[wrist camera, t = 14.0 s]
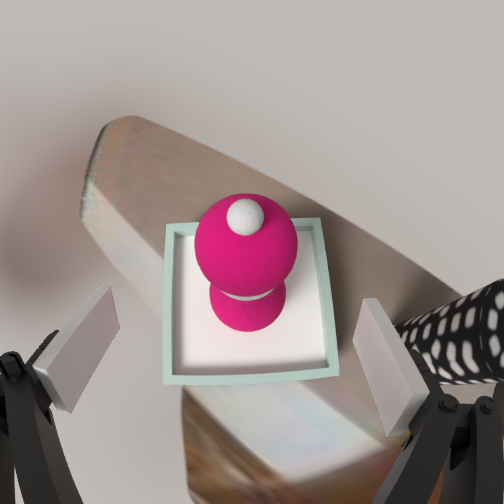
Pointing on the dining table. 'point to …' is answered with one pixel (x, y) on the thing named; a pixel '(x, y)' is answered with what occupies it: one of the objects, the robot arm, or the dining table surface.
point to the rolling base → (247, 343)
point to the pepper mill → (246, 259)
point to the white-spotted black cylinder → (461, 337)
